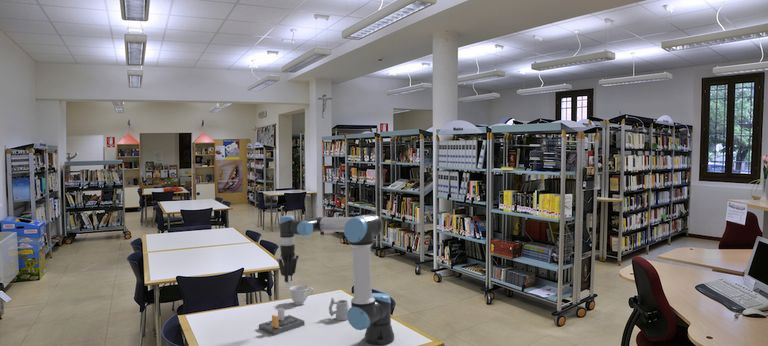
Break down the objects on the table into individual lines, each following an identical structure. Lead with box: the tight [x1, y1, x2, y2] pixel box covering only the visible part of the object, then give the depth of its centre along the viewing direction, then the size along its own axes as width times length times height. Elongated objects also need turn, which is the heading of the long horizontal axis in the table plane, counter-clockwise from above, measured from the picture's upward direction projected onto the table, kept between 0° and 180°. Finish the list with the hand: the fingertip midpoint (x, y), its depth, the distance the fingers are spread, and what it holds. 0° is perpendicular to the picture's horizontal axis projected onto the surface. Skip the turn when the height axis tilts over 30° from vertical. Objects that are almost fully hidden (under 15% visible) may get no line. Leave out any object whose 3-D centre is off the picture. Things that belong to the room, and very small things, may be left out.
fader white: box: [277, 307, 285, 321], centre depth 261 cm, size 4×2×6 cm, turn 47°
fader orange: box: [271, 313, 279, 328], centre depth 250 cm, size 4×2×6 cm, turn 47°
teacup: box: [289, 284, 314, 306], centre depth 297 cm, size 12×15×10 cm
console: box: [258, 314, 305, 337], centre depth 257 cm, size 14×20×3 cm
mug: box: [328, 297, 350, 322], centre depth 270 cm, size 8×12×12 cm, turn 83°
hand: (288, 287), depth 254 cm, fingers closed
